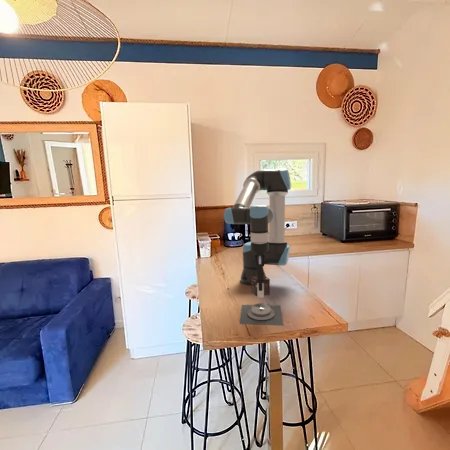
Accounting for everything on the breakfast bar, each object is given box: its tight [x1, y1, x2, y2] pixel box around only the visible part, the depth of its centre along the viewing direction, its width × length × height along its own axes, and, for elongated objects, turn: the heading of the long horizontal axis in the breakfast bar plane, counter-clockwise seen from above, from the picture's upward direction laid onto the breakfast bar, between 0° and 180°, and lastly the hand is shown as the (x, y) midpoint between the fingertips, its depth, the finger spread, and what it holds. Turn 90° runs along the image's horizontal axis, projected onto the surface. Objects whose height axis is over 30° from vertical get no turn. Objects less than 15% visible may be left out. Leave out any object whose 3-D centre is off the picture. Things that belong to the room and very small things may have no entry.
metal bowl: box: [247, 303, 275, 321], centre depth 122 cm, size 12×12×3 cm
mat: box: [239, 304, 285, 326], centre depth 122 cm, size 18×18×1 cm
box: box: [250, 275, 271, 297], centre depth 120 cm, size 6×6×7 cm
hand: (260, 293), depth 120 cm, fingers closed on box, 8 cm apart
